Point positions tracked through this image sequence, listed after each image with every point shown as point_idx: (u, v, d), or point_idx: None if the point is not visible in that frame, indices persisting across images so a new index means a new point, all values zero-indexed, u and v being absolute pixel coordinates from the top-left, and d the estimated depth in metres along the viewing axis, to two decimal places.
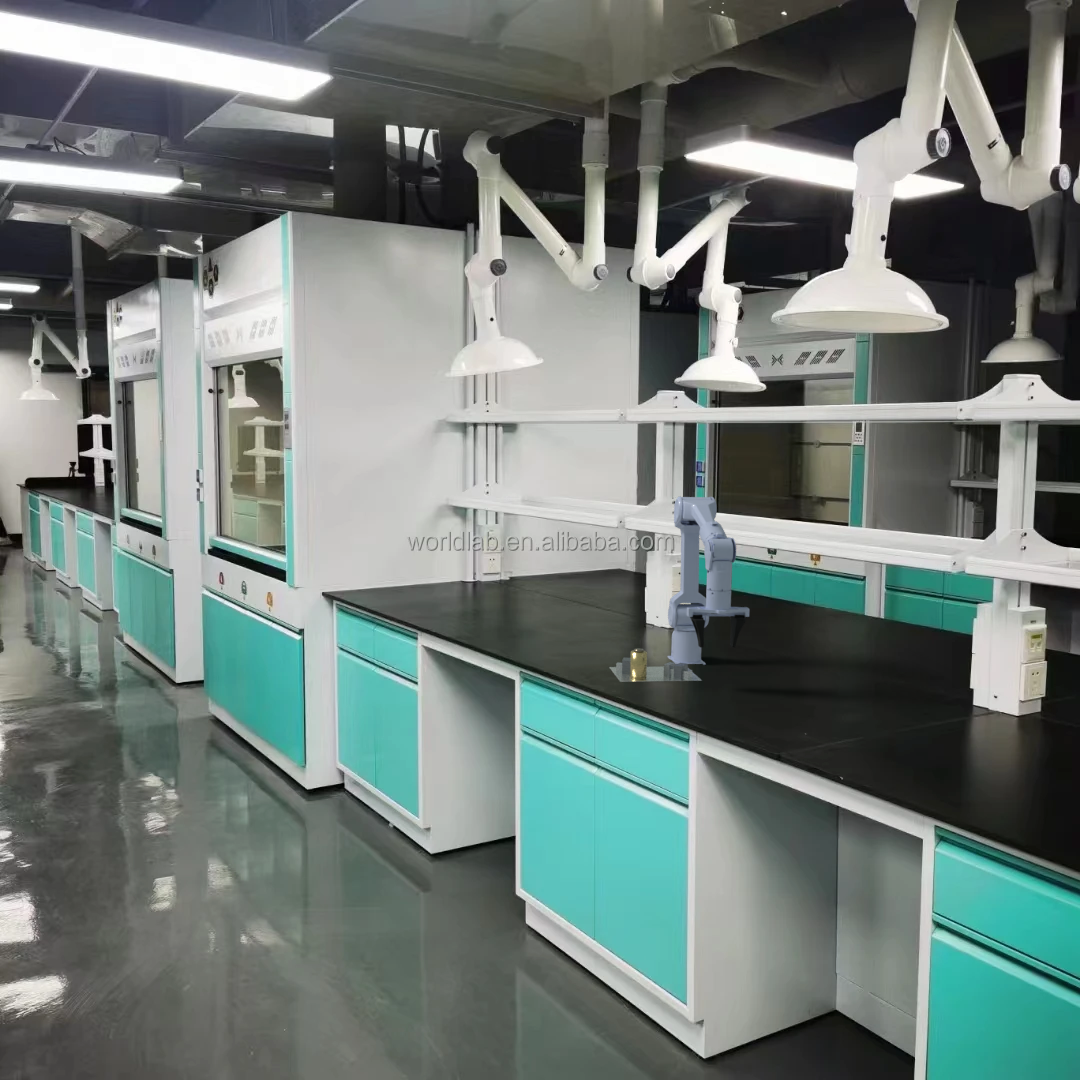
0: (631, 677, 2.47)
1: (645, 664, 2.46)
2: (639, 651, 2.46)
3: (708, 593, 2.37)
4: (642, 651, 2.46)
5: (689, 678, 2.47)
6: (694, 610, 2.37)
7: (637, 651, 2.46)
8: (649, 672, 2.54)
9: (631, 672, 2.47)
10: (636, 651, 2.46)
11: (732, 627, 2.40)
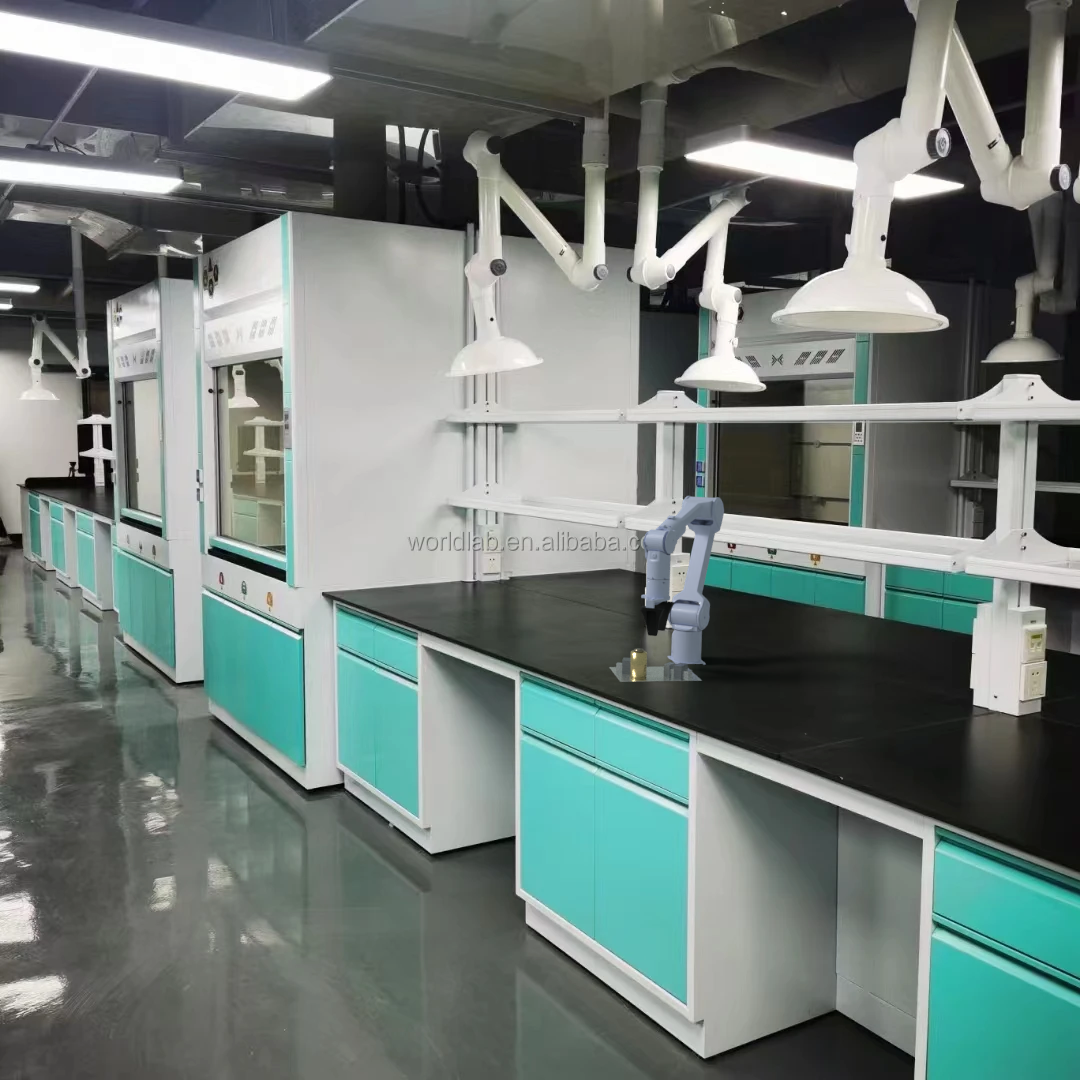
0: (631, 677, 2.47)
1: (645, 664, 2.46)
2: (639, 651, 2.46)
3: None
4: (642, 651, 2.46)
5: (689, 678, 2.47)
6: None
7: (637, 651, 2.46)
8: (649, 672, 2.54)
9: (631, 672, 2.47)
10: (636, 651, 2.46)
11: None
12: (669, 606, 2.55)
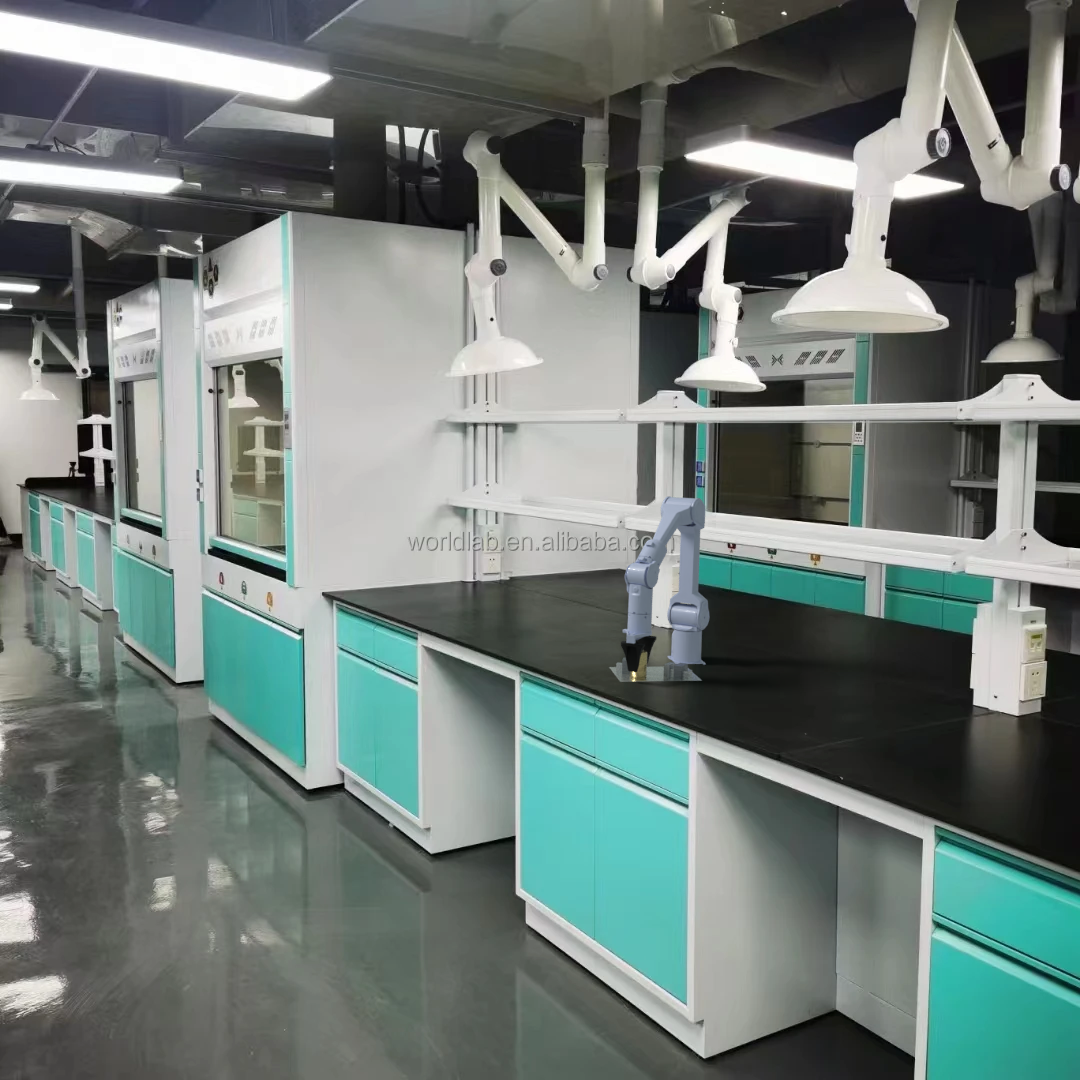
0: (631, 677, 2.47)
1: (645, 664, 2.46)
2: None
3: None
4: (642, 651, 2.46)
5: (689, 678, 2.47)
6: None
7: None
8: (649, 672, 2.54)
9: (631, 672, 2.47)
10: None
11: None
12: (651, 641, 2.49)
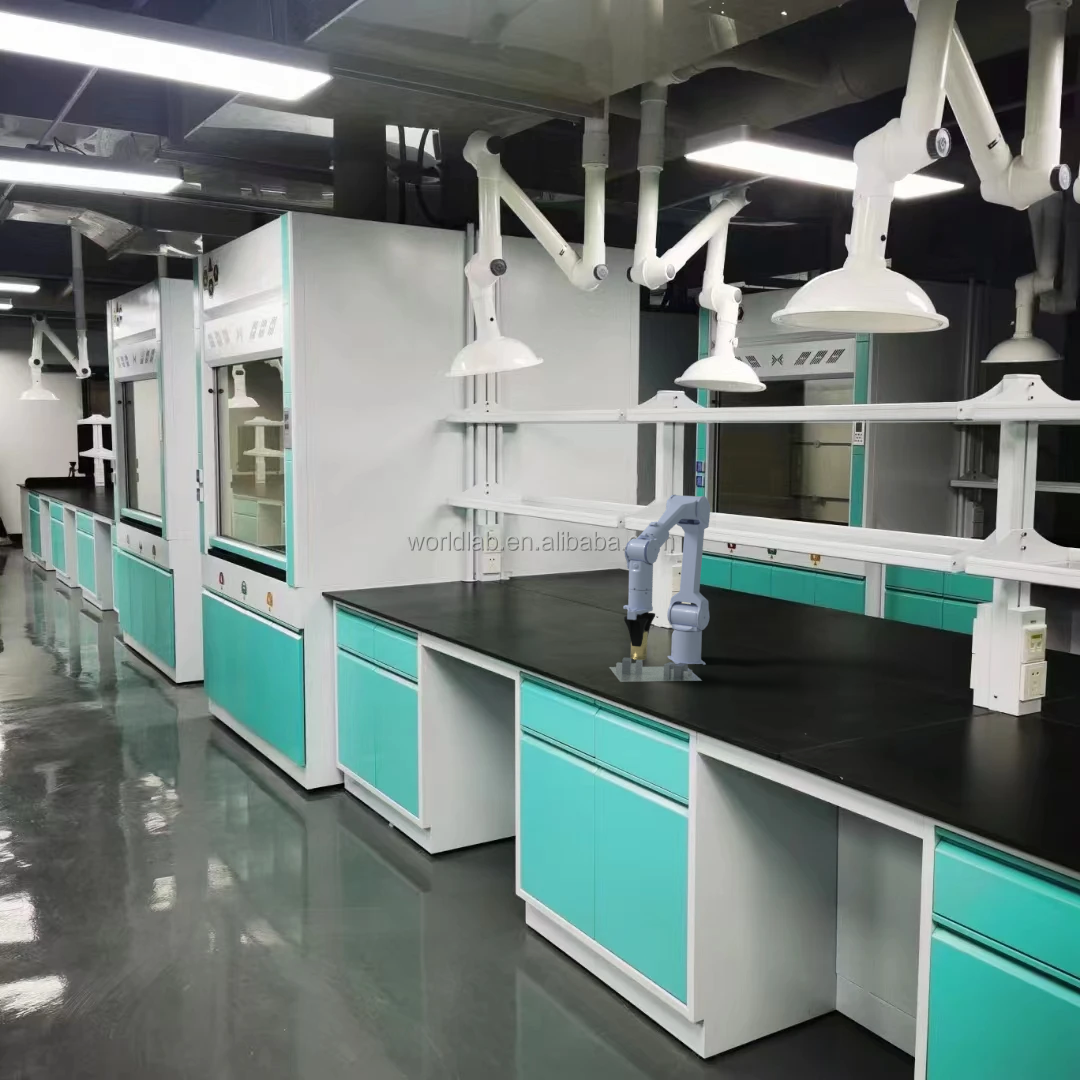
0: (632, 657, 2.46)
1: (646, 644, 2.45)
2: None
3: None
4: None
5: (689, 678, 2.47)
6: None
7: None
8: (649, 672, 2.54)
9: (632, 652, 2.46)
10: None
11: None
12: (650, 618, 2.47)
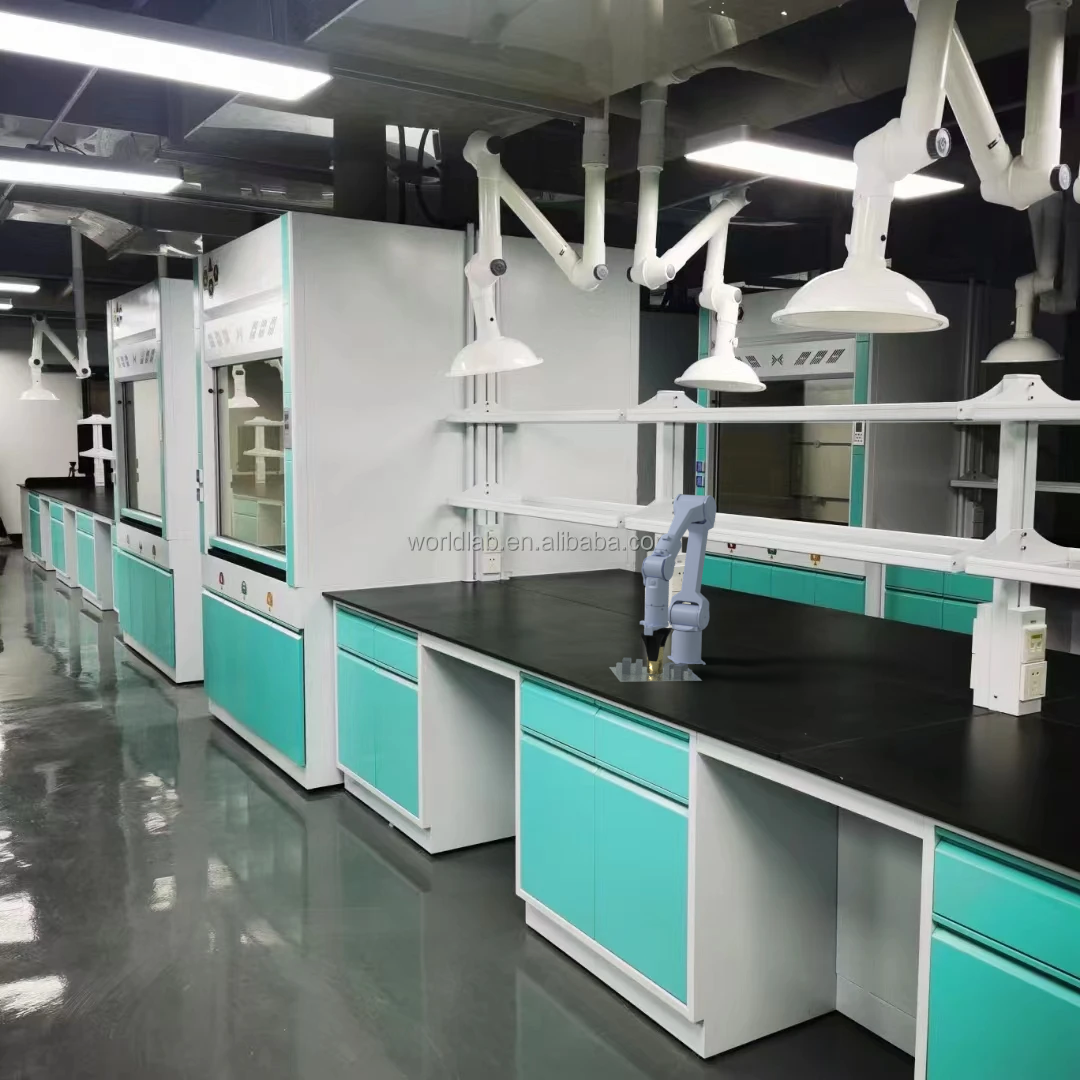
0: (648, 671, 2.51)
1: (662, 658, 2.50)
2: None
3: None
4: None
5: (689, 678, 2.47)
6: None
7: None
8: None
9: (648, 666, 2.51)
10: None
11: None
12: (666, 633, 2.52)
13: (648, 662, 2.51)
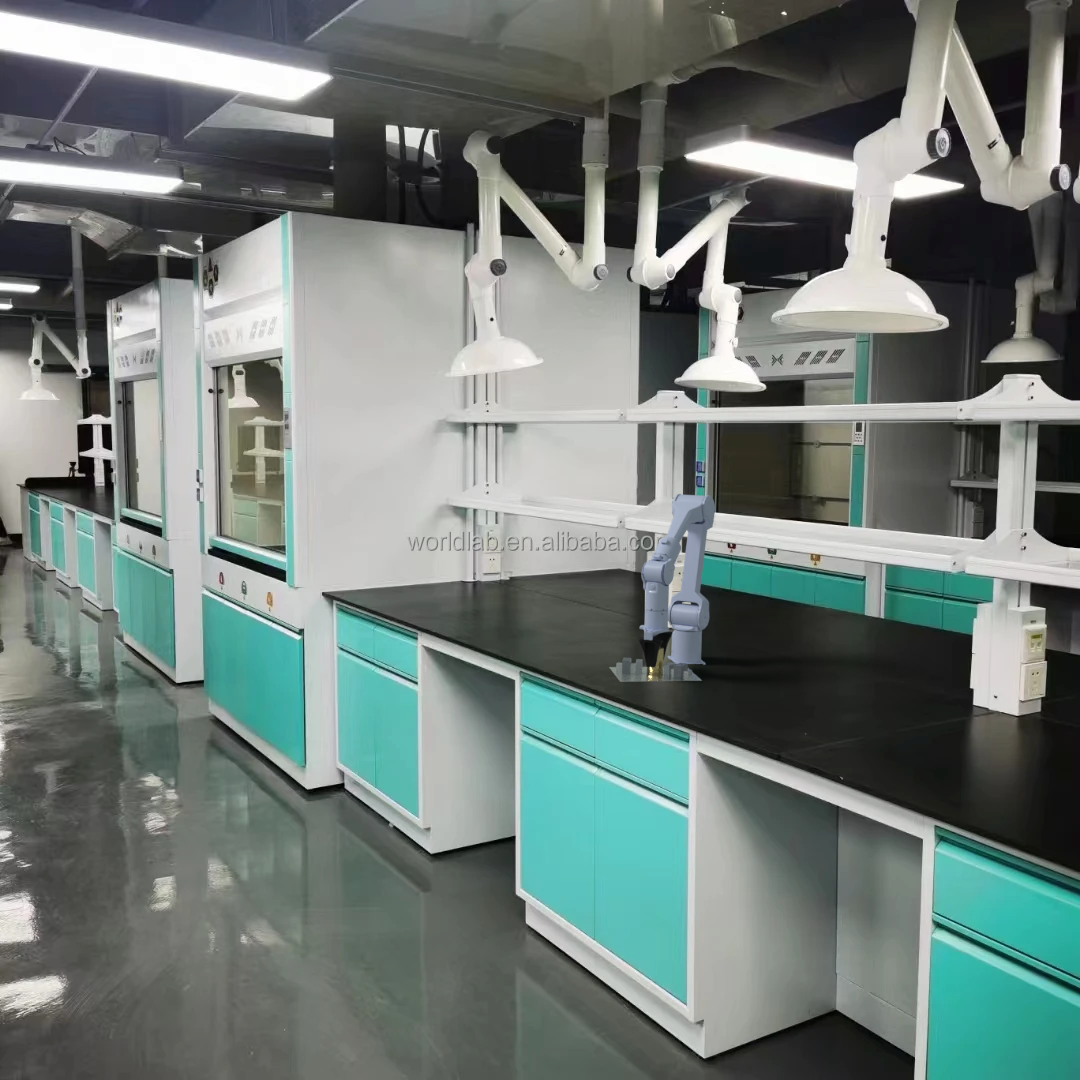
0: (648, 673, 2.51)
1: (661, 660, 2.50)
2: None
3: None
4: None
5: (689, 678, 2.47)
6: None
7: None
8: None
9: (648, 668, 2.51)
10: None
11: None
12: (668, 636, 2.54)
13: None
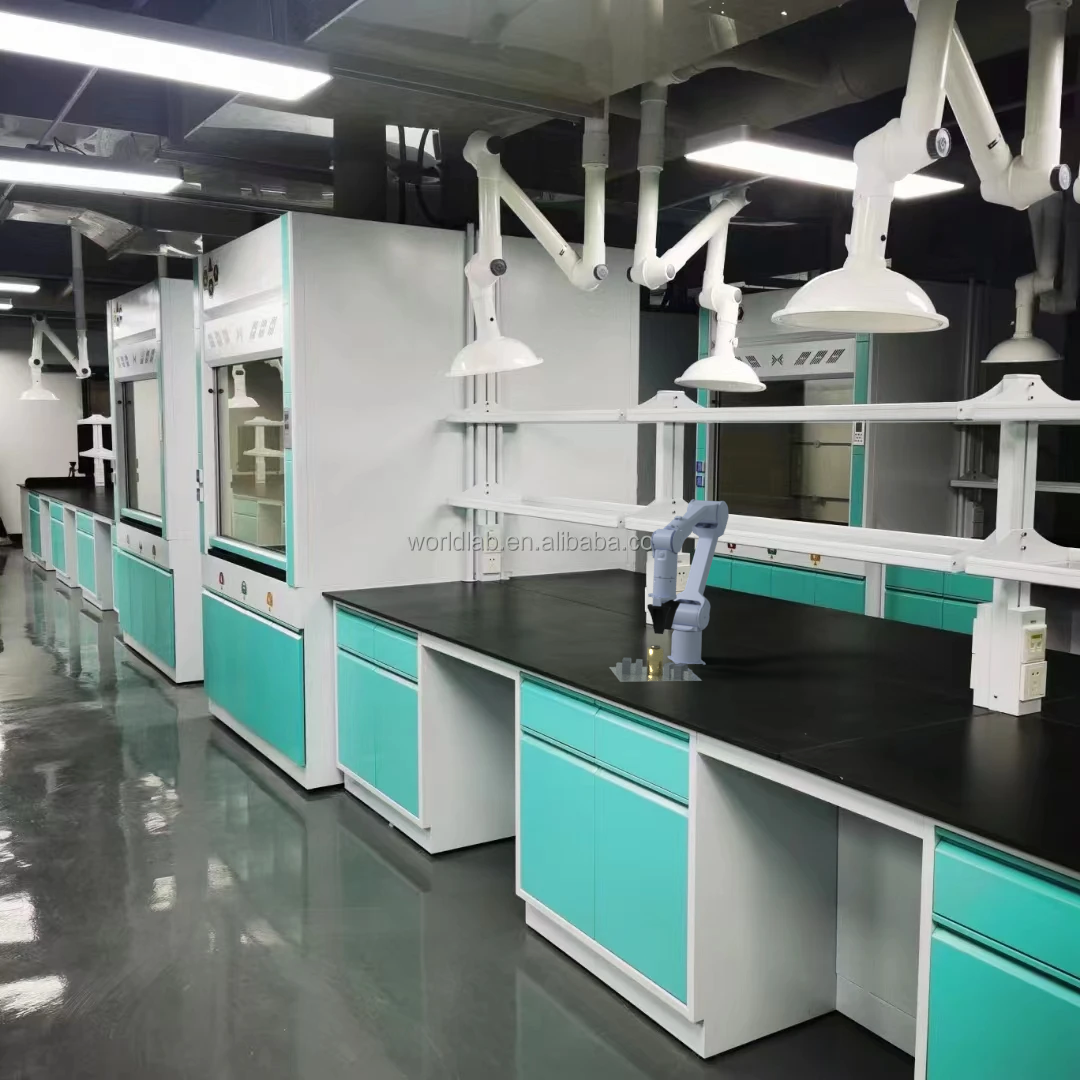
0: (648, 673, 2.51)
1: (661, 660, 2.50)
2: (656, 647, 2.50)
3: None
4: (658, 647, 2.50)
5: (689, 678, 2.47)
6: None
7: (654, 647, 2.50)
8: None
9: (648, 668, 2.51)
10: (653, 647, 2.50)
11: None
12: (675, 605, 2.57)
13: (648, 664, 2.51)
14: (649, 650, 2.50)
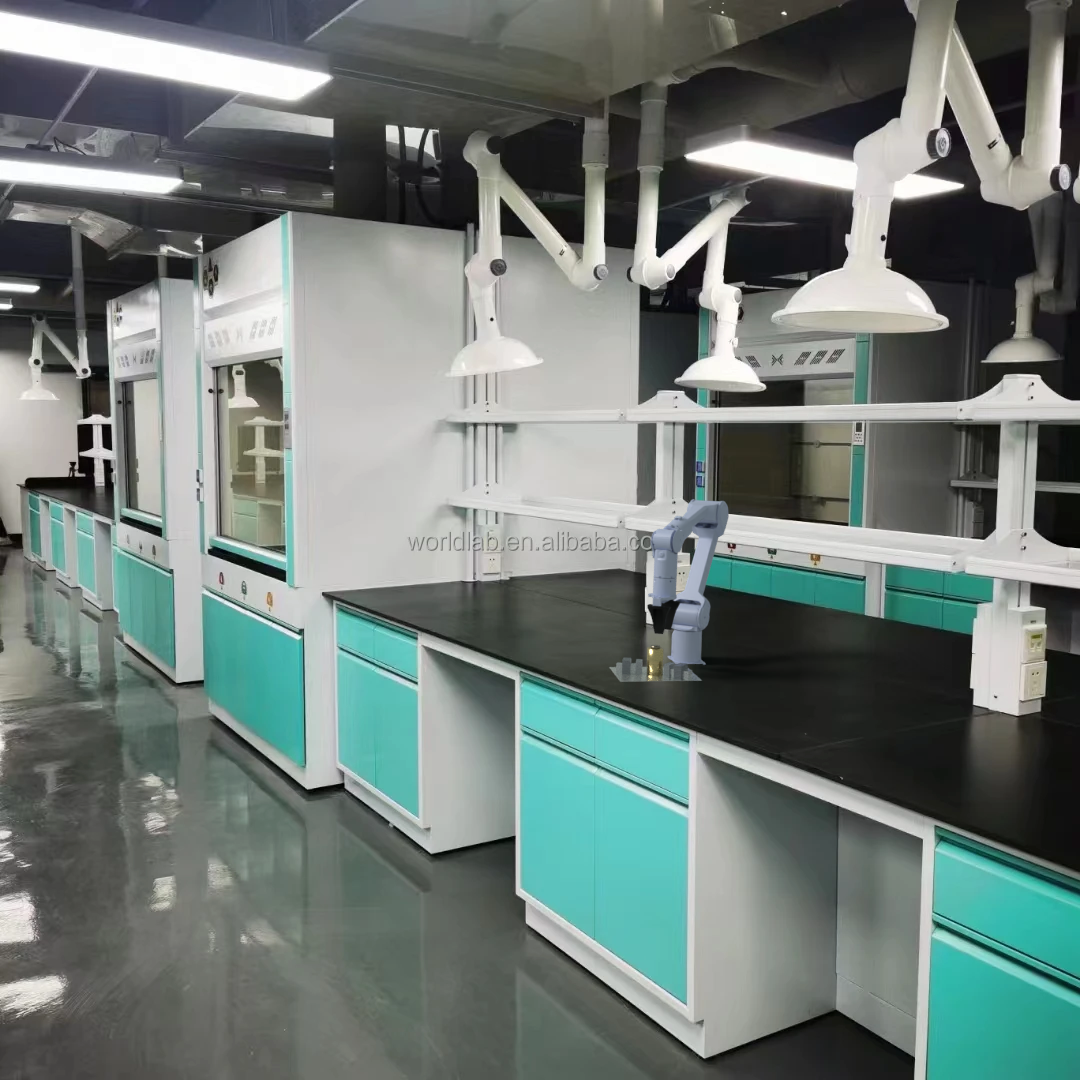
0: (648, 673, 2.51)
1: (661, 660, 2.50)
2: (656, 647, 2.50)
3: None
4: (658, 647, 2.50)
5: (689, 678, 2.47)
6: None
7: (654, 647, 2.50)
8: None
9: (648, 668, 2.51)
10: (653, 647, 2.50)
11: None
12: (675, 605, 2.57)
13: (648, 664, 2.51)
14: (649, 650, 2.50)
